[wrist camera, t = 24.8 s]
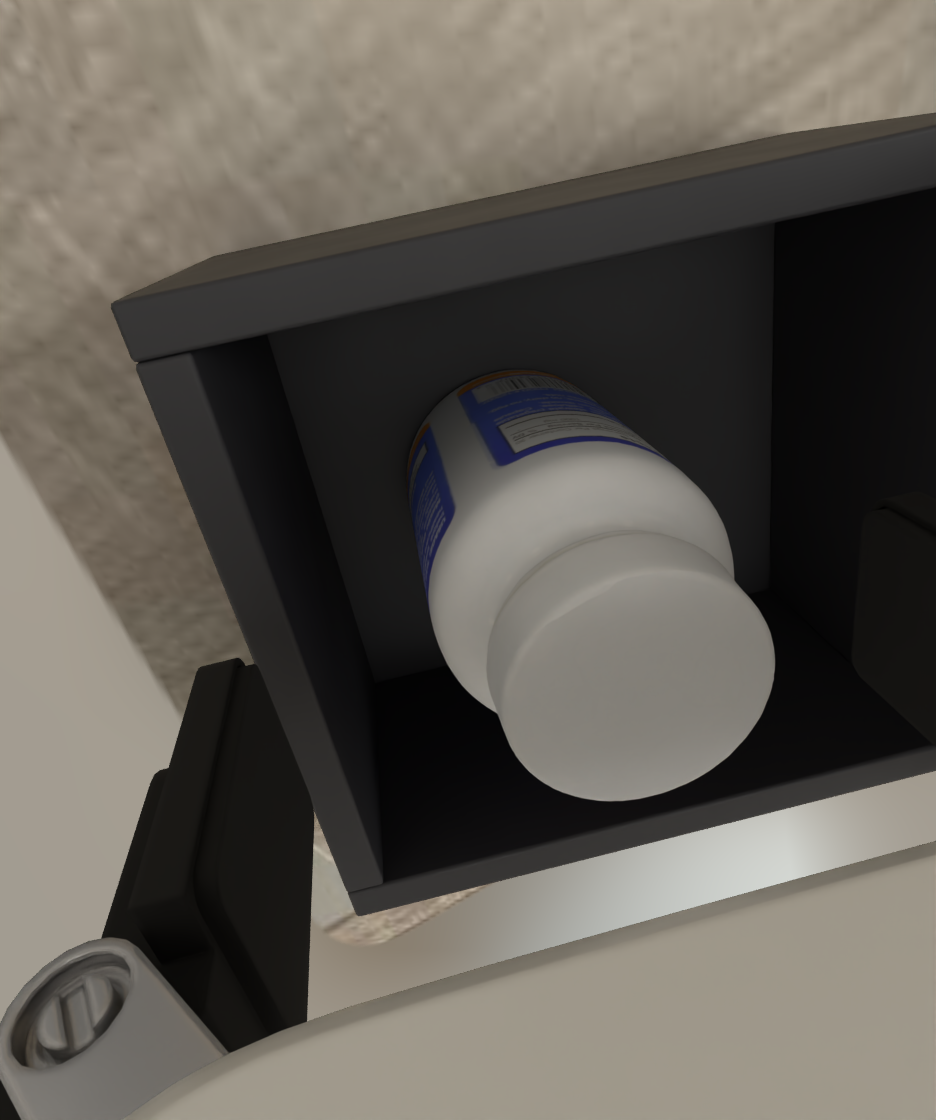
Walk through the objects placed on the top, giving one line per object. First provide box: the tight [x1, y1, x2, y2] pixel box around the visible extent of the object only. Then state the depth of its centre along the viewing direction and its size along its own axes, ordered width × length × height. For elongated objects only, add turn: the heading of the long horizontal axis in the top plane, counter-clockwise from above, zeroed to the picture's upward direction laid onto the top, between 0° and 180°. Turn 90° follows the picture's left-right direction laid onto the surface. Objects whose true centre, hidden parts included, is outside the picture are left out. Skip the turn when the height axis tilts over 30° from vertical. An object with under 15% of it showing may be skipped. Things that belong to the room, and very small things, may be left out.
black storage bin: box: [111, 113, 936, 916], centre depth 16 cm, size 14×13×8 cm
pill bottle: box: [406, 370, 775, 801], centre depth 14 cm, size 5×5×10 cm
